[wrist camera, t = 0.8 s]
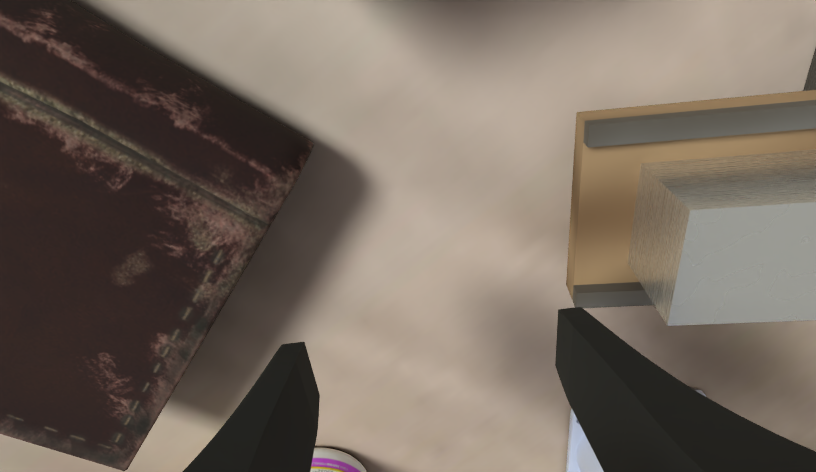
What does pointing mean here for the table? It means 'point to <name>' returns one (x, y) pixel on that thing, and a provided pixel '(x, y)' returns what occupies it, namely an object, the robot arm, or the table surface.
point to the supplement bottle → (334, 461)
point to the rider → (728, 238)
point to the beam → (656, 142)
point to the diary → (117, 224)
